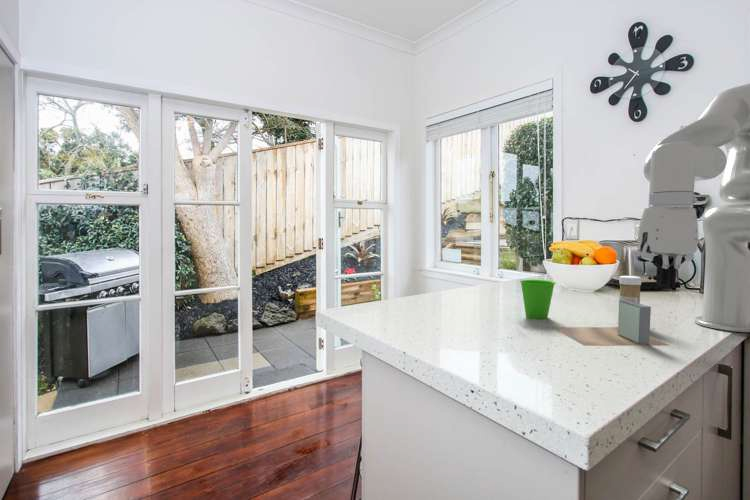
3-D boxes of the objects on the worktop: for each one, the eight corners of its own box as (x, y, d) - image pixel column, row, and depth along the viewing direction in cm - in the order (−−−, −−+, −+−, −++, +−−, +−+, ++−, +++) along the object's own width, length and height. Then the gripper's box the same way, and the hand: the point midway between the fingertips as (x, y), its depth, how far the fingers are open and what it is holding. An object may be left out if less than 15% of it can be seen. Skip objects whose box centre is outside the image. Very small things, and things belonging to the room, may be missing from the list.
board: (624, 332, 91) (624, 327, 91) (669, 350, 77) (670, 345, 77) (551, 332, 91) (552, 327, 91) (583, 350, 77) (584, 345, 77)
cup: (550, 327, 96) (551, 285, 95) (514, 321, 101) (515, 282, 101) (557, 320, 103) (558, 281, 102) (524, 315, 108) (524, 278, 108)
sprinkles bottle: (642, 329, 93) (644, 276, 93) (634, 332, 91) (636, 278, 90) (622, 325, 97) (624, 274, 96) (614, 328, 95) (616, 276, 94)
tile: (626, 334, 85) (627, 300, 84) (649, 344, 78) (650, 306, 77) (617, 334, 85) (618, 300, 84) (639, 344, 78) (640, 306, 77)
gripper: (690, 204, 83) (685, 285, 84) (623, 202, 83) (619, 283, 84) (721, 201, 76) (715, 290, 76) (648, 199, 75) (643, 288, 76)
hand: (665, 286), depth 80 cm, fingers closed
